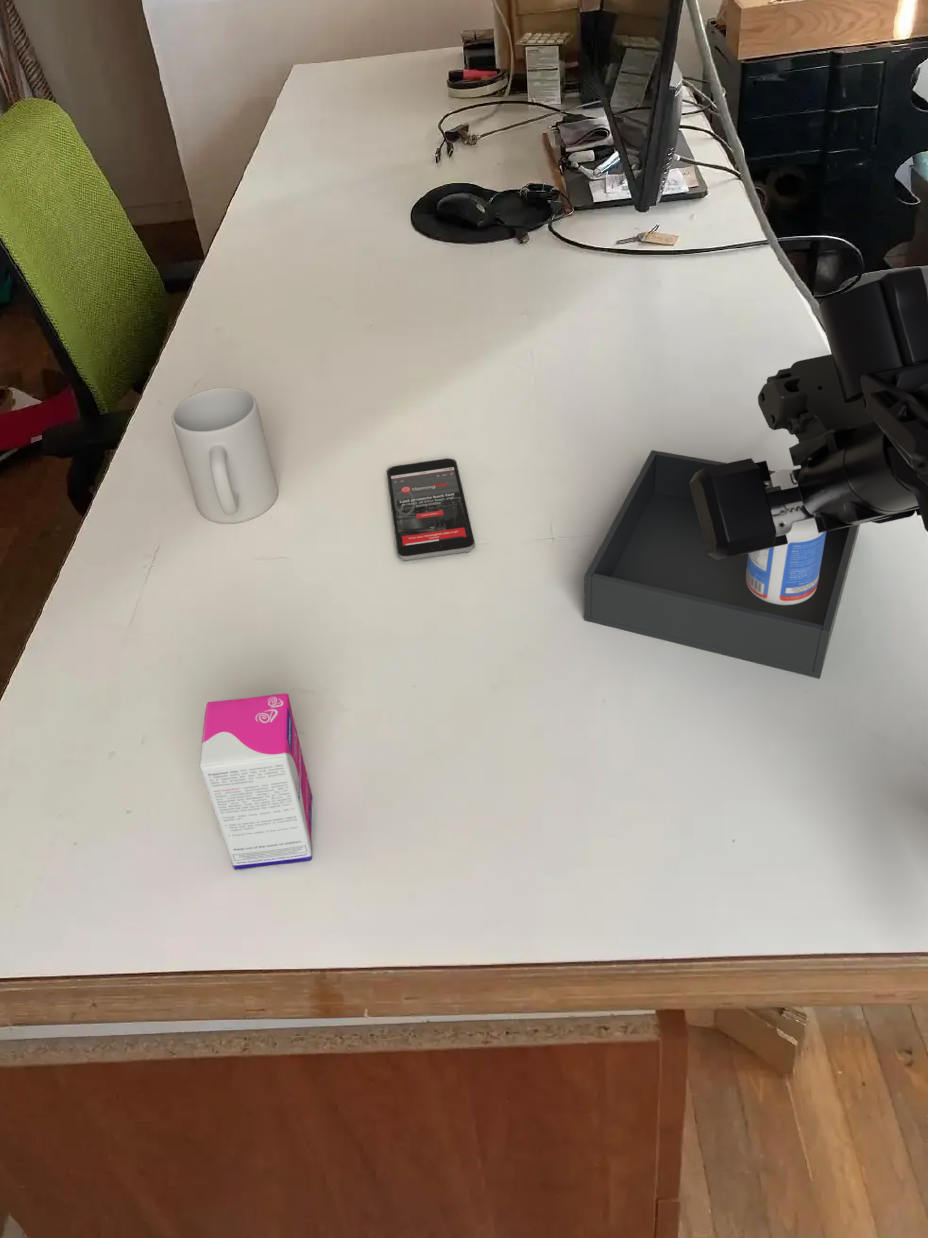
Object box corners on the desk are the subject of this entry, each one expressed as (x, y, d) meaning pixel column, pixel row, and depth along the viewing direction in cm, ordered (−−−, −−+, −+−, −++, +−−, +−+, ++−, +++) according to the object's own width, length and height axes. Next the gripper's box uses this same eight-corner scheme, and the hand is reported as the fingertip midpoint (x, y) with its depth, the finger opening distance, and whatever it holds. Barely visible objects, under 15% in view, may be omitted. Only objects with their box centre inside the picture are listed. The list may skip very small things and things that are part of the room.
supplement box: (316, 861, 71) (286, 757, 64) (232, 872, 71) (192, 768, 64) (316, 794, 76) (288, 689, 68) (237, 804, 76) (200, 700, 69)
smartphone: (397, 557, 95) (386, 466, 106) (398, 563, 95) (386, 472, 107) (475, 546, 95) (455, 456, 106) (476, 552, 95) (455, 462, 107)
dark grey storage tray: (858, 532, 92) (868, 487, 89) (819, 679, 79) (829, 632, 76) (649, 492, 100) (651, 449, 96) (584, 620, 87) (584, 575, 84)
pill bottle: (821, 571, 82) (840, 470, 76) (809, 614, 78) (828, 512, 72) (751, 557, 84) (764, 458, 78) (737, 598, 80) (749, 498, 74)
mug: (198, 482, 109) (172, 394, 102) (277, 469, 109) (256, 380, 102) (195, 552, 100) (166, 460, 93) (281, 537, 100) (259, 444, 93)
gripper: (992, 312, 64) (867, 384, 80) (711, 369, 62) (639, 431, 78) (1042, 483, 63) (905, 522, 78) (757, 546, 61) (675, 573, 77)
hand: (781, 508), depth 78 cm, fingers closed on pill bottle, 5 cm apart
